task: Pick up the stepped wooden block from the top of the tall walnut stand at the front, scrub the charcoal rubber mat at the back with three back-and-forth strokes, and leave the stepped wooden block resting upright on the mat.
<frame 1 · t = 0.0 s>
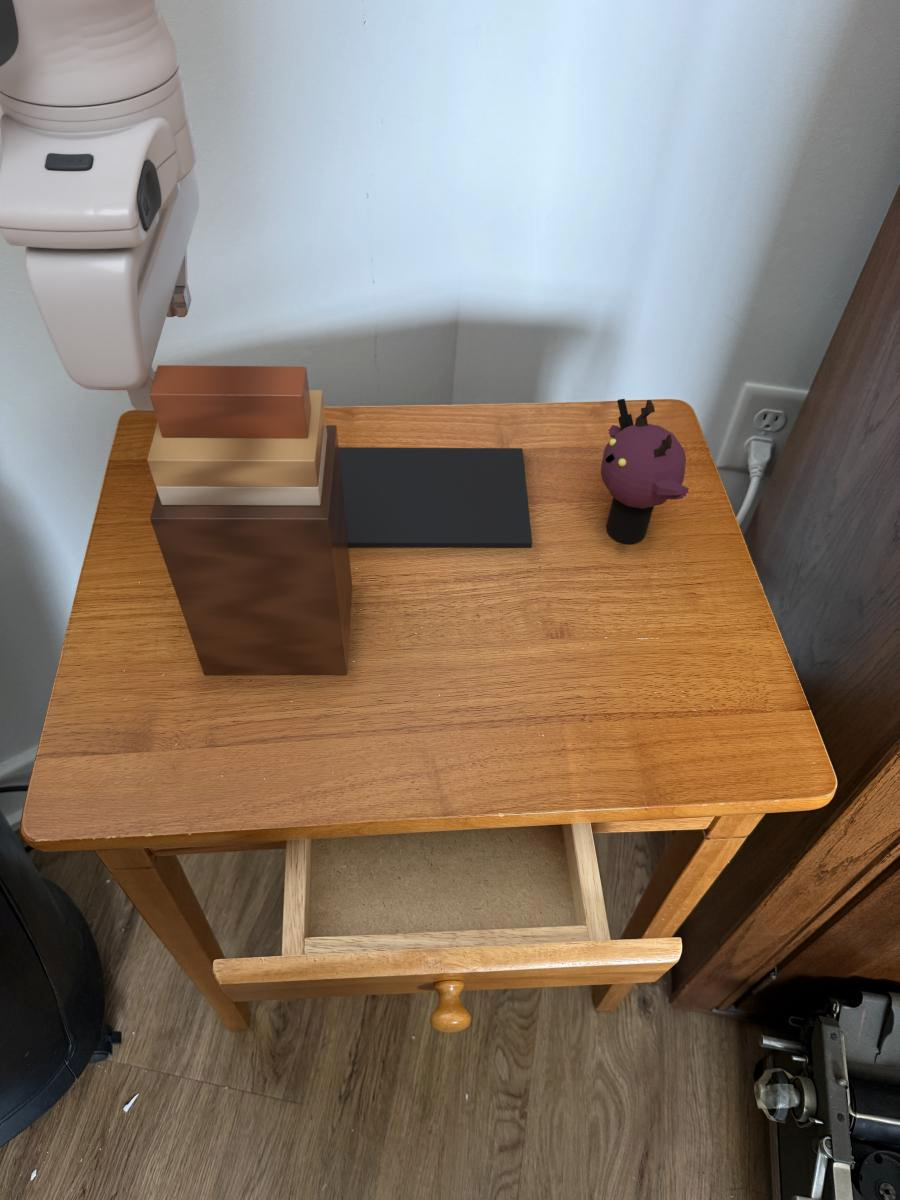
hand: (164, 354, 56), 18 cm above the table, tool pointing down, fingers open, 8 cm apart
stepped wooden block: (247, 469, 52), point 16 cm above the table, touching riser
mat: (406, 497, 74), on the table
riser: (281, 629, 65), on the table
figurine: (627, 531, 72), on the table
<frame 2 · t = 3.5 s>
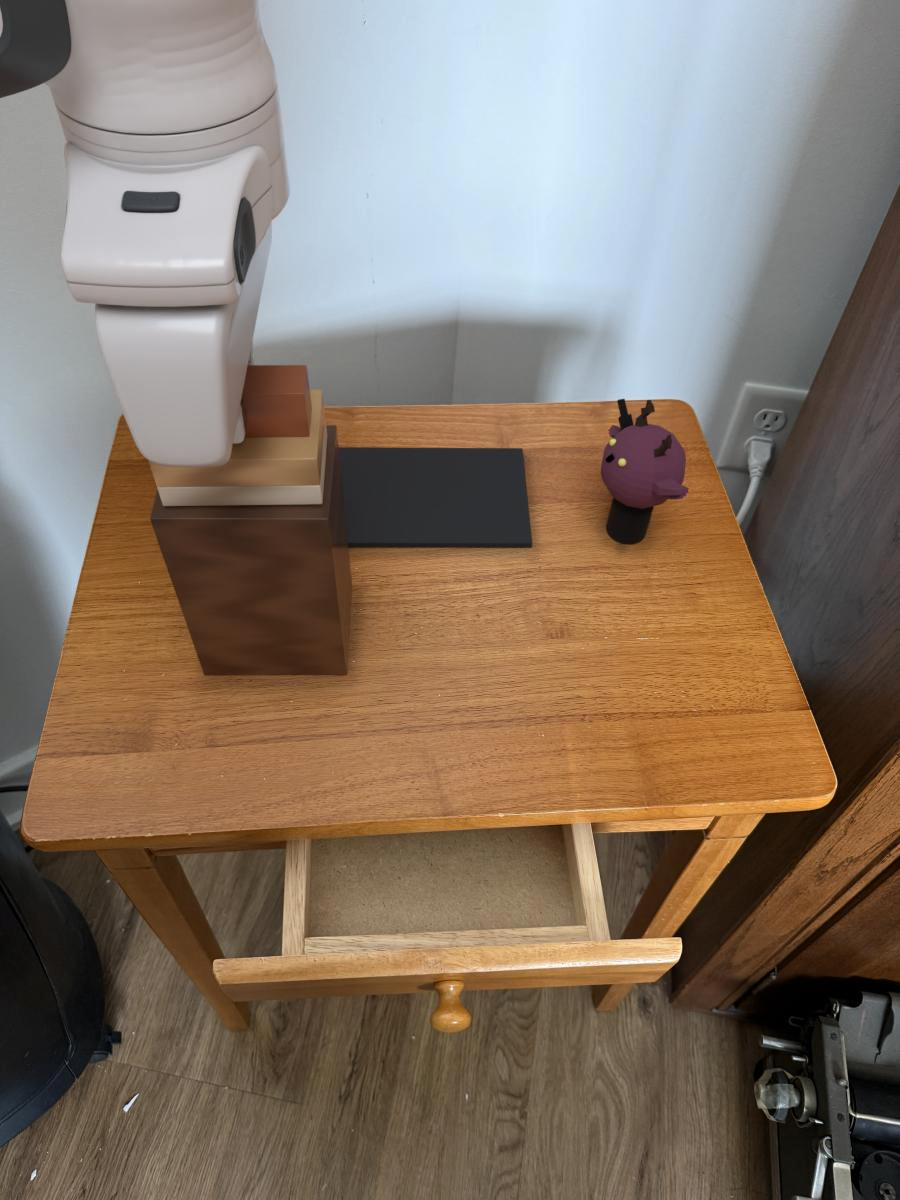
hand: (235, 411, 49), 20 cm above the table, tool pointing down, fingers closed on stepped wooden block, 2 cm apart
stepped wooden block: (248, 469, 52), point 16 cm above the table, touching gripper, riser
everything else where it was.
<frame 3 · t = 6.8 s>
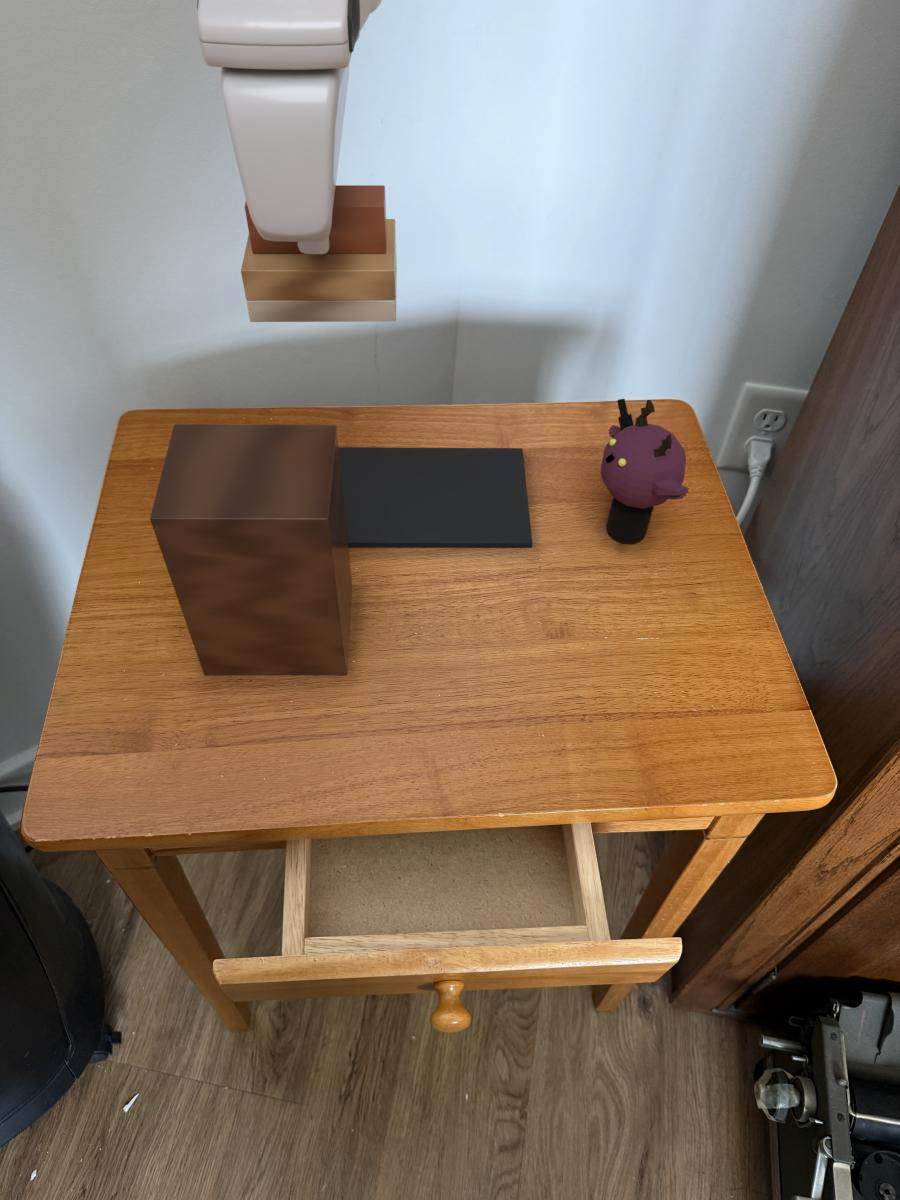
hand: (317, 230, 53), 24 cm above the table, tool pointing down, fingers closed on stepped wooden block, 2 cm apart
stepped wooden block: (325, 294, 57), point 20 cm above the table, touching gripper
everything else where it was.
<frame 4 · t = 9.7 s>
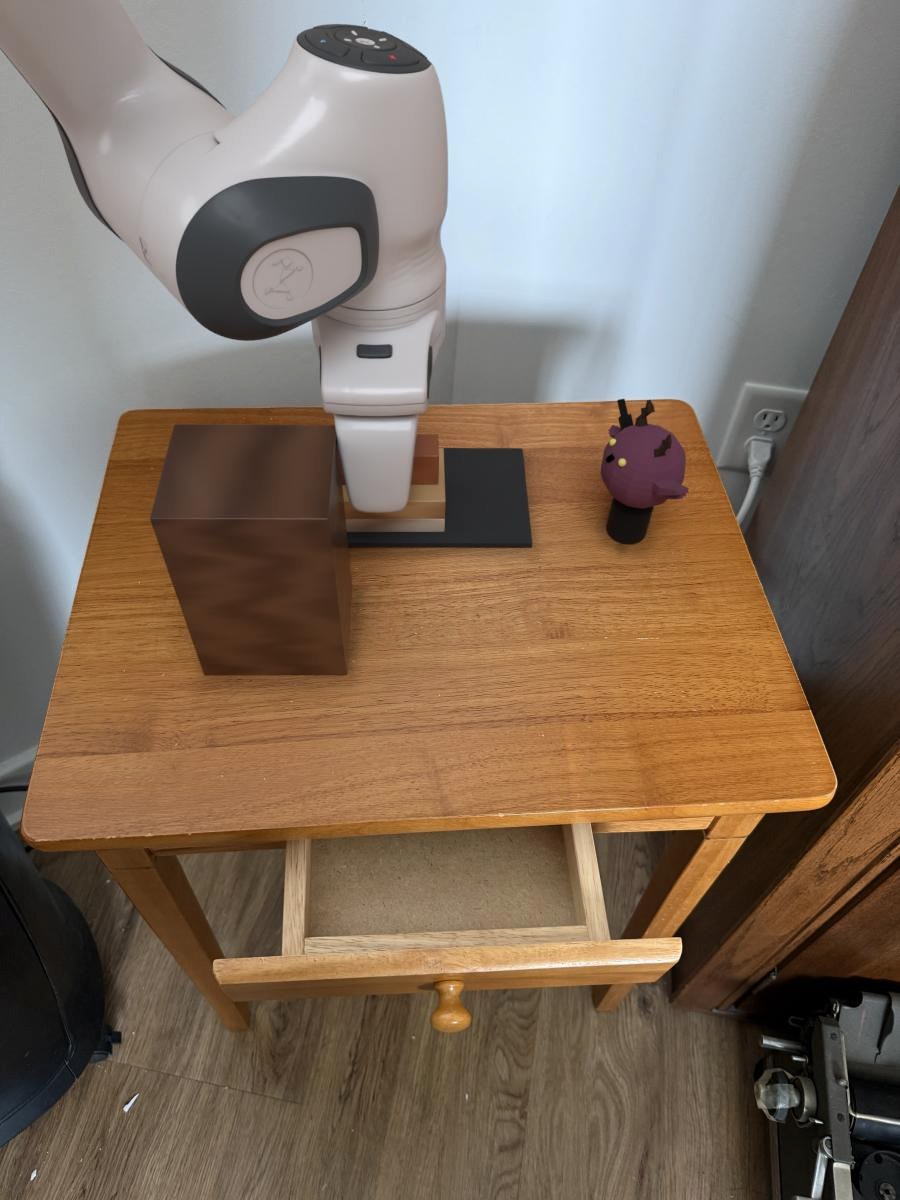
hand: (385, 466, 69), 5 cm above the table, tool pointing down, fingers closed on stepped wooden block, 2 cm apart
stepped wooden block: (388, 505, 72), point 1 cm above the table, touching gripper
everything else where it was.
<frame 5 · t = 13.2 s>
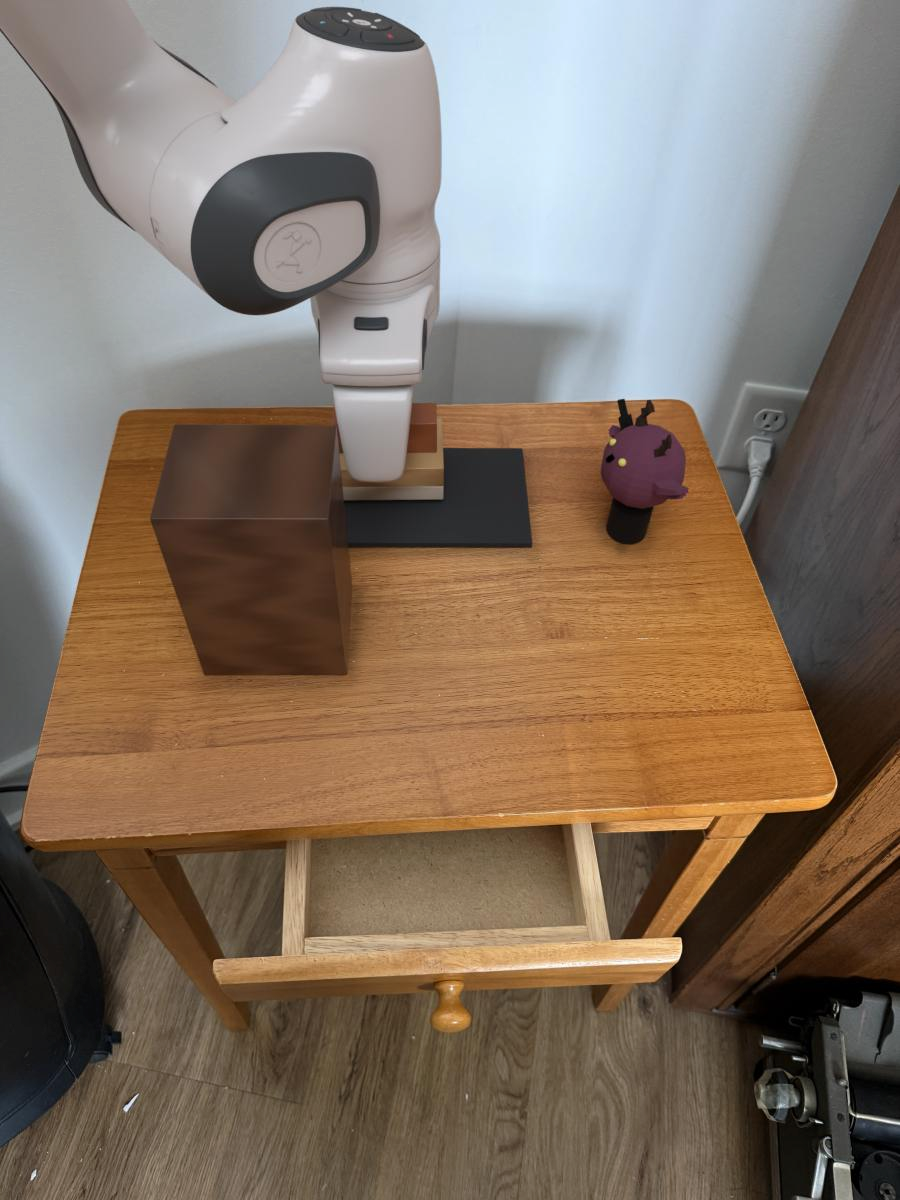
hand: (382, 441, 71), 5 cm above the table, tool pointing down, fingers closed on stepped wooden block, 2 cm apart
stepped wooden block: (388, 474, 74), point 1 cm above the table, touching gripper
everything else where it was.
when the fingers open (4 cm above the table, at t = 16.1 s): stepped wooden block stays where it is, resting on mat.
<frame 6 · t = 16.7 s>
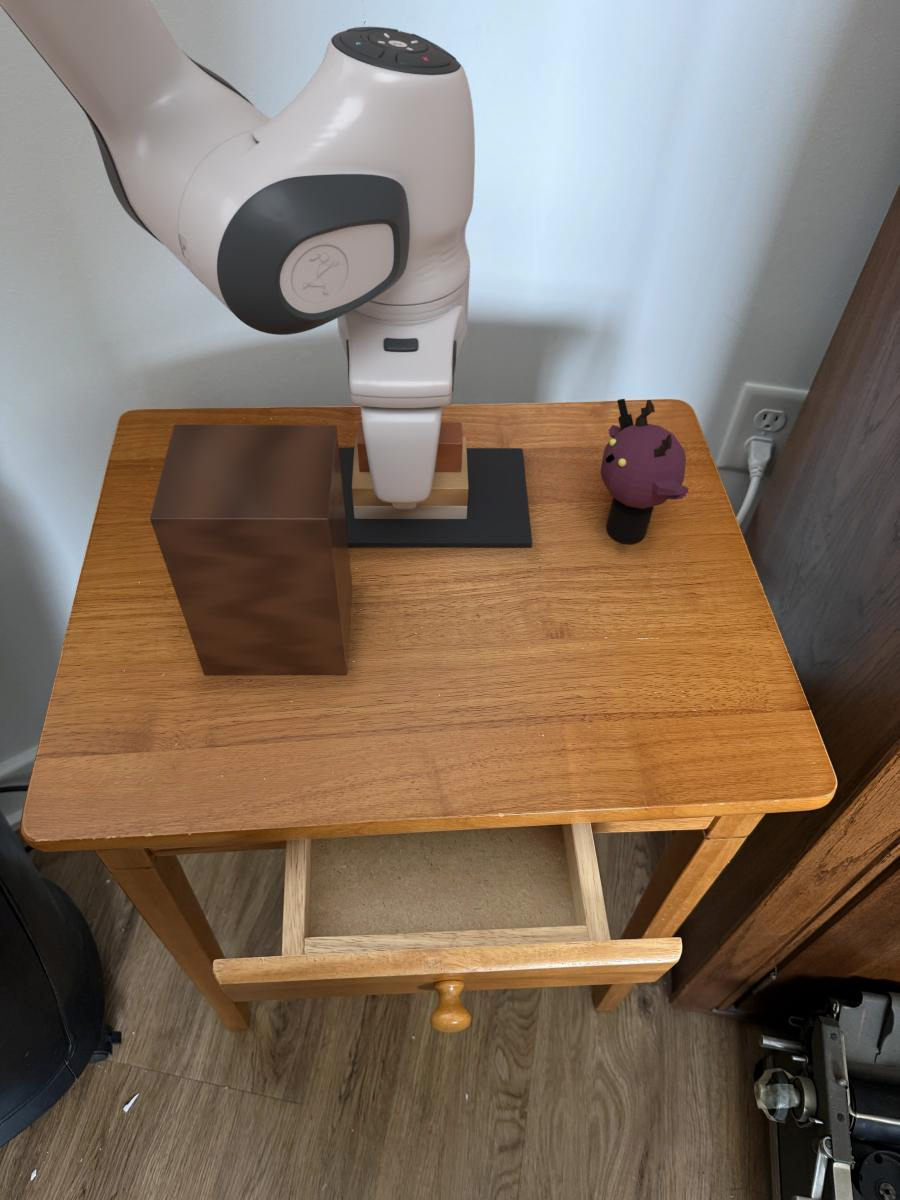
hand: (405, 459, 70), 4 cm above the table, tool pointing down, fingers open, 8 cm apart
stepped wooden block: (410, 492, 73), point 1 cm above the table, touching mat
everything else where it was.
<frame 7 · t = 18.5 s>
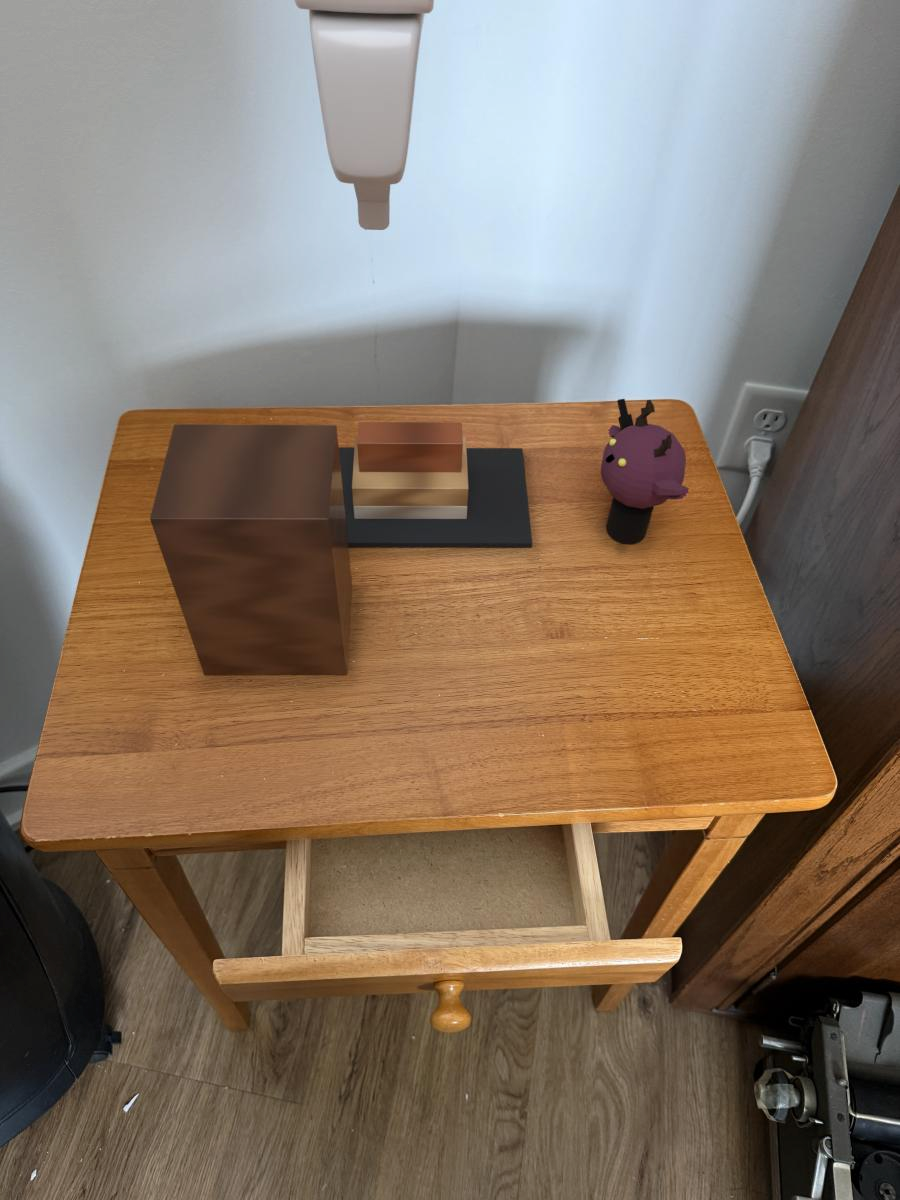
hand: (377, 183, 55), 25 cm above the table, tool pointing down, fingers open, 8 cm apart
nothing on the table moved.
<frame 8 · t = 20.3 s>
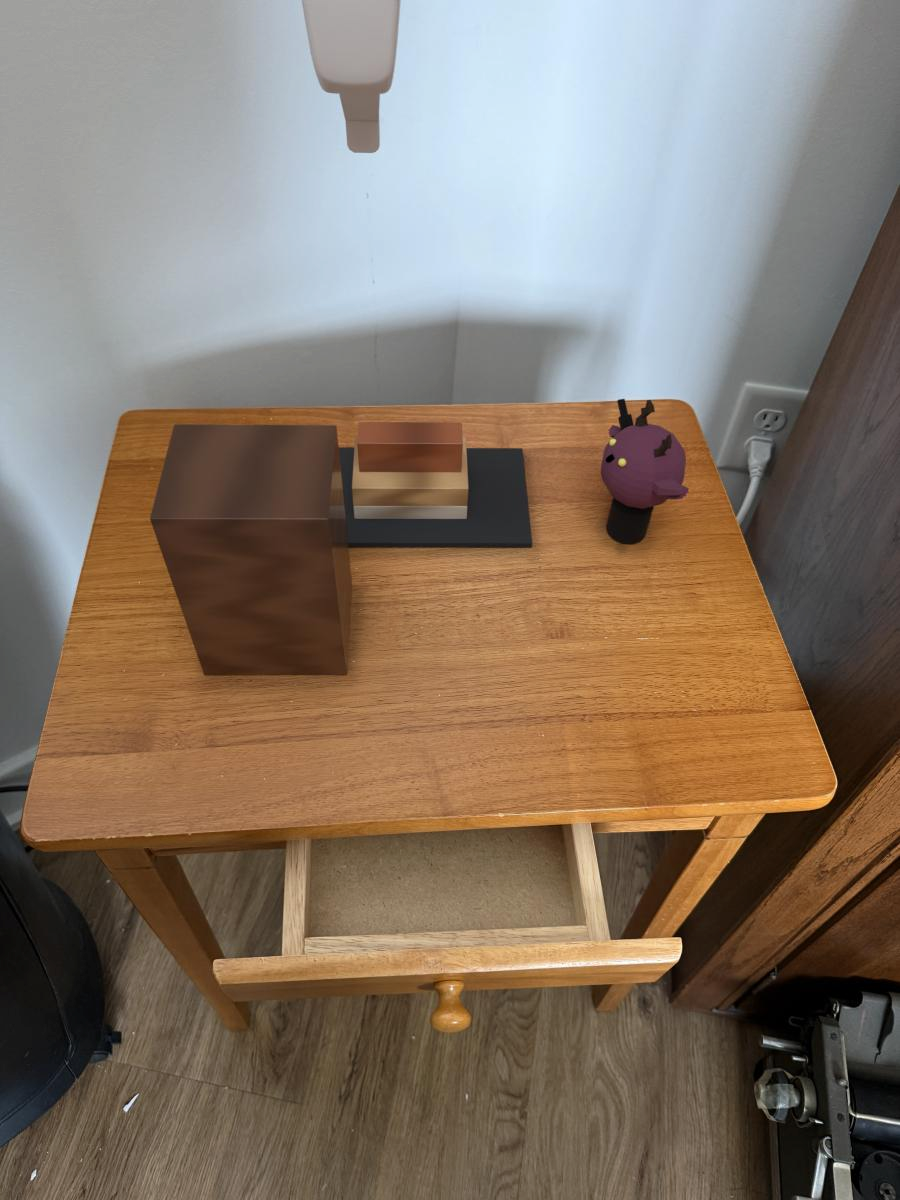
hand: (367, 109, 53), 29 cm above the table, tool pointing down, fingers open, 8 cm apart
nothing on the table moved.
at the end: stepped wooden block inside the target area on the mat (0.4 cm from its centre), point 0.6 cm above the mat's base; stepped wooden block tilted 0°; the gripper is holding nothing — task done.
